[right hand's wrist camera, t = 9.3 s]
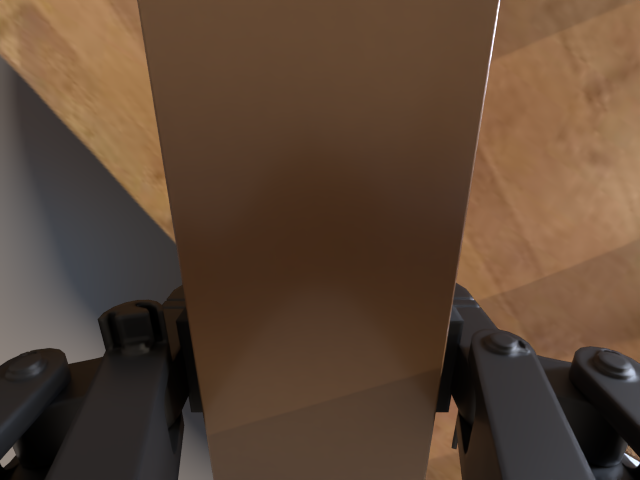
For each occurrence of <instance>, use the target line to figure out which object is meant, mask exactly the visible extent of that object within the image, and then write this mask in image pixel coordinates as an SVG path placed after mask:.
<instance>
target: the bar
mask: <svg viewBox="0 0 640 480" xmlns="http://www.w3.org/2000/svg"><path fill="white" fill-rule="evenodd" d="M137 2H138V8H139V14H140V21H141V27H142V33H143V40H144V46H145V52H146V58H147V65H148V71H149V77H150V83H151V90H152V96H153V102H154V109H155V115H156V121H157V127H158V134H159V140H160V146H161V153H162V159H163V165H164V171H165V178H166V184H167V190H168V196H169V203H170V209H171V215H172V222H173V228H174V234H175V240H176V247H177V253H178V259H179V265H180V272H181V278H182V284H183V291H184V297H185V303H186V309H187V316H188V322H189V328H190V335H191V341H192V347H193V353H194V360H195V366H196V372H197V378H198V385H199V391H200V397H201V404H202V410H203V416H204V422H205V429H206V435H207V441H208V447H209V454H210V460H211V466H212V472H213V479H214V480H425V477H426V470H427V464H428V458H429V451H430V445H431V439H432V432H433V426H434V419H435V413H436V407H437V400H438V394H439V387H440V381H441V375H442V368H443V362H444V355H445V349H446V343H447V336H448V330H449V324H450V317H451V311H452V304H453V298H454V292H455V285H456V279H457V272H458V266H459V260H460V253H461V247H462V241H463V234H464V228H465V221H466V215H467V209H468V202H469V196H470V189H471V183H472V177H473V170H474V164H475V157H476V151H477V145H478V138H479V132H480V126H481V119H482V113H483V106H484V100H485V94H486V87H487V81H488V74H489V68H490V62H491V55H492V49H493V43H494V36H495V30H496V23H497V17H498V11H499V4H500V0H137Z"/></svg>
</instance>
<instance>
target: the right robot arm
mask: <svg viewBox="0 0 640 480" xmlns="http://www.w3.org/2000/svg"><path fill="white" fill-rule="evenodd" d="M98 322H99V326H100V330H101V334H102V337H103V341H104V345H105V349H106V352H105V354H104V356H103V357H100V358H96V359H92V360H87V361H82V362H77V363H72V364H68V362H67V359H66V356H65V353H63V352H62V351H61V350H59V349H53V348H46V349H38V350H33V351H30V352H26V353H23V354H20V355H19V356H17V357H15V358H12V359H10V360H8V361H7V362H5V363H4V364H2V365H1V366H0V460H1V459H2V458H3V456H4V455H5V454H6V453H7V452H8V451H9V450H10V448H11V447H13V449H14V451H15V454H16V456H15V457H14V458H13V459H12V460H11V462H10V463H8V464H7V465H6V466H5V467H4V468H3V467H2V466H1V464H0V480H178V474H179V466H180V457H181V449H182V440H183V432H184V421H183V415H182V409H183V407H184V404H185V402H186V400H187V398H188V396H189V401H190V407H191V412H203V410H202V404H201V397H200V391H199V385H198V378H197V372H196V366H195V360H194V353H193V347H192V341H191V335H190V328H189V322H188V316H187V309H186V303H185V297H184V291H183V285H182V286H180V287H178V288H177V289H175V290H174V291H173V292H172V293H171V294H170V296H169V297H168V298H167V301H165V302H164V303H163V305H161V304H160V303H158V302H157V301H152V300H136V301H131V302H126V303H123V304H120V305H117V306H115V307H113V308H111V309H109V310H108V311H106V312H104V313H103V314H102V315H101V316H100V317H99V318H98ZM451 394H452V396H453V399H454V401H455V403H456V405H457V407H458V415H457V420H456V425H455V431H454V436H453V442H452V448H453V449H456V448H457V443H458V448H459V457H460V465H461V474H462V480H640V463H639V465H638V466H636V465H634V464H633V463H632V462H631V461H630V460H629V458H628V457H627V456H626V455H625V454H624V453H625V450H626V448H627V446H628V445H629V446H630V447H631V448H632V449H633V451H634V452H635V453H636V454H637V455H638V456H639V457H640V364H639V363H638V362H636V361H635V360H633V359H632V358H629V357H627V356H625V355H623V354H621V353H619V352H617V351H614V350H610V349H606V348H599V347H591V346H590V347H583V348H580V349H578V350H577V351H576V352H575V355H574V358H573V361H572V363H571V362H566V361H561V360H556V359H551V358H546V357H542V356H538V355H536V353H535V351H534V349H533V348H532V347H531V346H530V344H529V343H528V342H526V341H525V340H524V339H522V338H521V337H519V336H517V335H515V334H512V333H510V332H507V331H503V330H499V329H498V328H497V327H496V326H495V325H494V323H493V322H492V321H491V320H490V318H489V317H488V316H487V315H486V313H485V312H484V311H483V310H482V308H481V307H479V305H478V303H477V302H476V301H475V300H473V297H472V296H471V295H470V293H469V292H468V291H467V290H466V289H465V288H464V287H462V286H460V285H459V284H457V283H456V285H455V292H454V298H453V304H452V311H451V317H450V324H449V330H448V336H447V343H446V349H445V355H444V362H443V368H442V375H441V381H440V387H439V394H438V400H437V407H436V412H449V406H450V400H451Z"/></svg>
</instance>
